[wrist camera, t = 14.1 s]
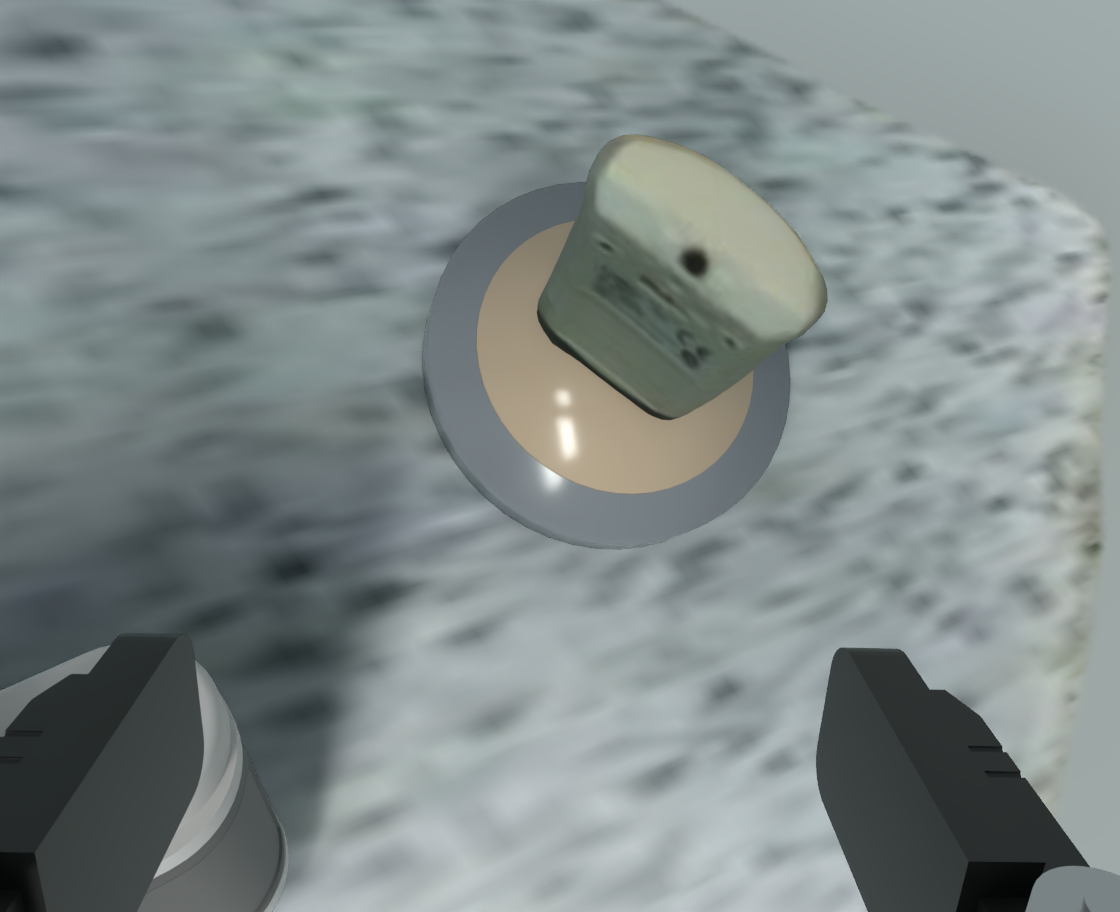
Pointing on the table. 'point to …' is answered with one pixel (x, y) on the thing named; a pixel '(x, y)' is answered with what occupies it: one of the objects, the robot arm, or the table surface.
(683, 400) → the off-white rounded piece
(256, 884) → the camera
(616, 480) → the coaster
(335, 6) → the table surface
